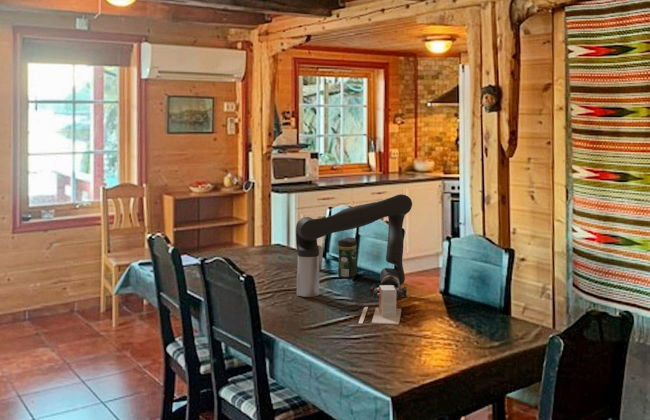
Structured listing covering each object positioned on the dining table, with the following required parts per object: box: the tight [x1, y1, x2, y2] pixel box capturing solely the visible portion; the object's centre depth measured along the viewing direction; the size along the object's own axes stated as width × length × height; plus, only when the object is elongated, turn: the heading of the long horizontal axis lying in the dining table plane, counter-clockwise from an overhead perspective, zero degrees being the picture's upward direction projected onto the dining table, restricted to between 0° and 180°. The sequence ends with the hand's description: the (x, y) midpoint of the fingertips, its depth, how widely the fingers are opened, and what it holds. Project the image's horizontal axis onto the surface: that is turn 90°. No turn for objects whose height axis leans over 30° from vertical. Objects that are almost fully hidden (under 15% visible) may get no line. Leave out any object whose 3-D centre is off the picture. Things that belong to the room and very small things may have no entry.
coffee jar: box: [337, 237, 358, 279], centre depth 327 cm, size 10×8×19 cm
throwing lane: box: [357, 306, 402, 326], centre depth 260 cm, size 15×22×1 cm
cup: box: [317, 244, 325, 271], centre depth 341 cm, size 7×7×12 cm
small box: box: [378, 284, 397, 317], centre depth 260 cm, size 8×6×10 cm
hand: (387, 295), depth 259 cm, fingers open, 8 cm apart
